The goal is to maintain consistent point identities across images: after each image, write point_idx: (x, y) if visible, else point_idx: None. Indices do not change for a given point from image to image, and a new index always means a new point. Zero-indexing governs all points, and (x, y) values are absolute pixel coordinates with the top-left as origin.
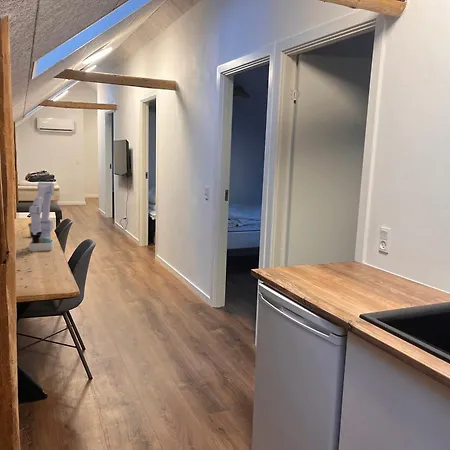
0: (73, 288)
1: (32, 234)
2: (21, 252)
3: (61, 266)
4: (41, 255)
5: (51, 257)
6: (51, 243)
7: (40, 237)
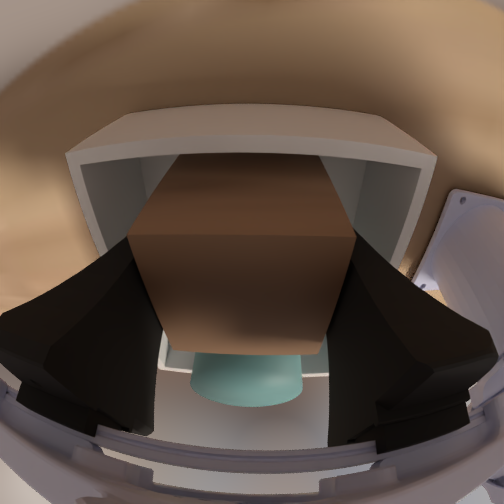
0: None
1: (3, 365)
2: (69, 46)
3: None
4: (22, 256)
5: (17, 300)
6: (159, 364)
7: (317, 348)
